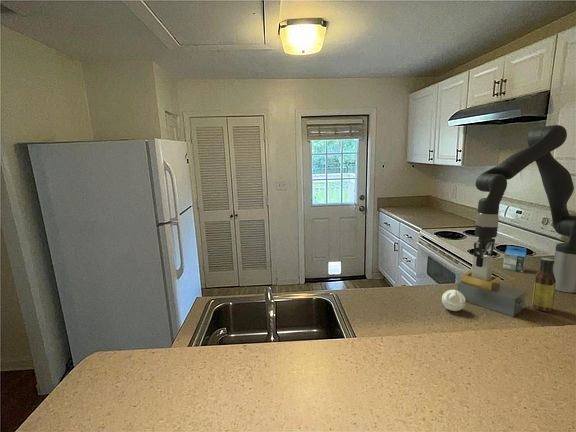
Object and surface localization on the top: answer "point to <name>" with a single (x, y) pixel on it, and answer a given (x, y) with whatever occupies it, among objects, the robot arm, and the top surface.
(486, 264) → the skincare box
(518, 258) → the label tape box
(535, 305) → the sauce bottle
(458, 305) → the white swirled ball
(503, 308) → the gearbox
